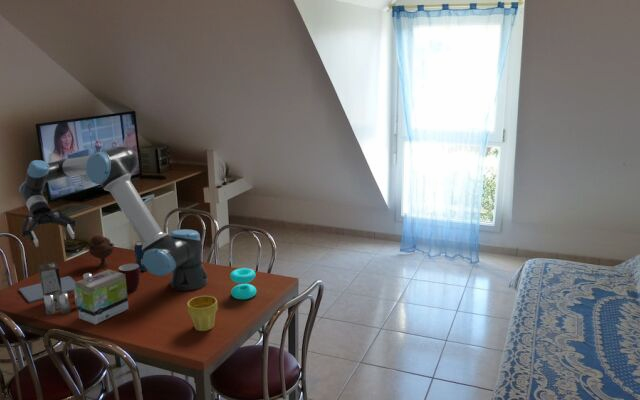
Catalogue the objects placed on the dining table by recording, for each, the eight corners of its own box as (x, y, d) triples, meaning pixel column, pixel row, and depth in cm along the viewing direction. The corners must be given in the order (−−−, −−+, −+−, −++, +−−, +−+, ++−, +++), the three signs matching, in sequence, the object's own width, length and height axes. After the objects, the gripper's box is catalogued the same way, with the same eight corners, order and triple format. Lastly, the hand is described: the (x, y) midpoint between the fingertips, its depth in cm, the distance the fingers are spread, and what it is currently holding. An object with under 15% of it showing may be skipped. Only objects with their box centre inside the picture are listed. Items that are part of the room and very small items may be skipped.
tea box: (96, 325, 207) (91, 287, 203) (78, 319, 212) (73, 281, 208) (129, 309, 219) (125, 273, 215) (112, 303, 224) (108, 268, 220)
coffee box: (65, 307, 222) (59, 268, 217) (46, 311, 218) (40, 271, 214) (61, 298, 229) (56, 260, 225) (43, 302, 226) (37, 264, 222)
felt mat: (81, 288, 238) (81, 287, 237) (29, 303, 225) (29, 301, 225) (69, 277, 250) (69, 275, 249) (19, 290, 237) (18, 288, 237)
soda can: (137, 266, 261) (134, 241, 258) (153, 264, 262) (150, 239, 259) (136, 271, 254) (133, 246, 251) (152, 270, 256) (149, 244, 253)
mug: (124, 297, 229) (121, 274, 226) (111, 293, 233) (108, 270, 230) (145, 288, 237) (143, 265, 234) (133, 284, 241) (130, 261, 239)
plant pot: (186, 334, 199) (184, 308, 197) (192, 320, 209) (190, 295, 207) (216, 333, 199) (214, 308, 197) (221, 319, 209) (219, 295, 207)
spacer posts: (106, 301, 226) (104, 284, 224) (49, 317, 213) (47, 300, 211) (92, 287, 238) (90, 272, 237) (37, 303, 225) (34, 286, 224)
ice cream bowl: (111, 270, 256) (107, 238, 252) (86, 270, 257) (82, 238, 253) (120, 261, 267) (116, 230, 263) (96, 261, 267) (92, 231, 263)
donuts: (257, 275, 223) (231, 278, 221) (258, 298, 226) (232, 302, 224) (253, 265, 233) (228, 268, 230) (254, 288, 235) (230, 291, 233)
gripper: (69, 209, 249) (87, 240, 237) (6, 221, 233) (21, 254, 221) (70, 195, 245) (88, 226, 233) (5, 206, 229) (21, 240, 217)
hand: (55, 240), depth 227 cm, fingers open, 13 cm apart
